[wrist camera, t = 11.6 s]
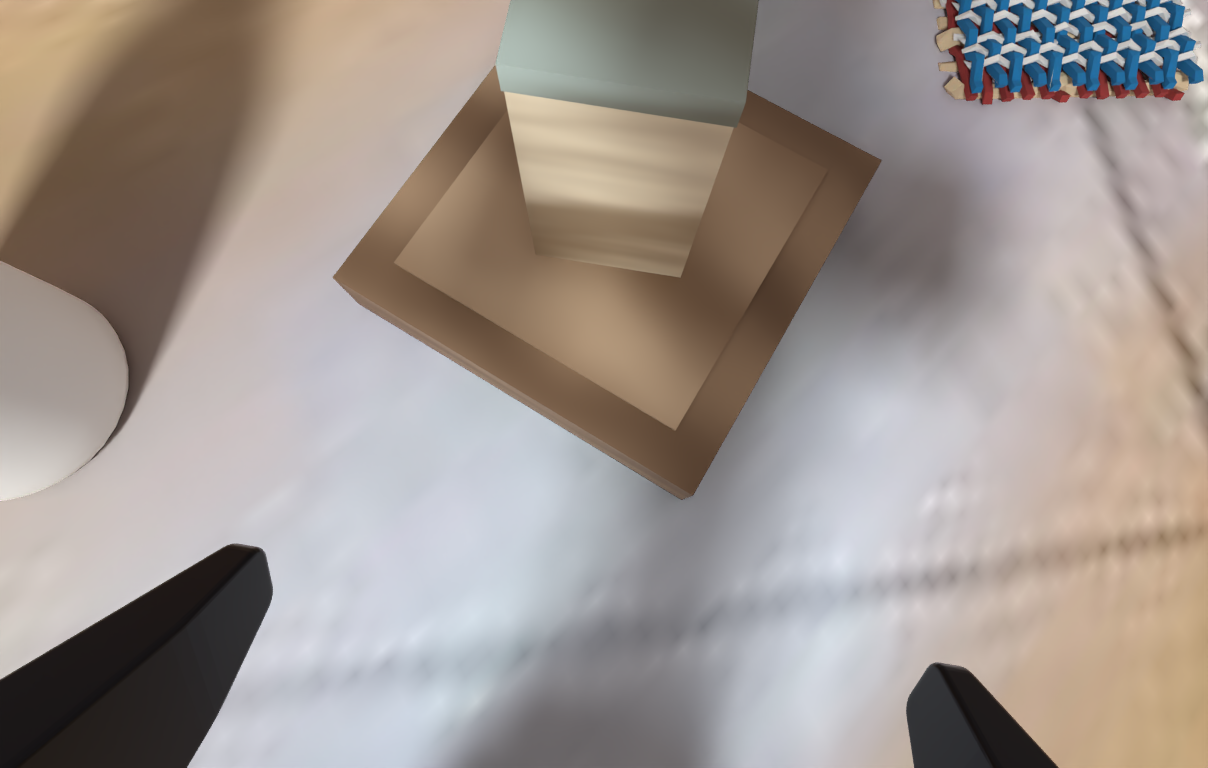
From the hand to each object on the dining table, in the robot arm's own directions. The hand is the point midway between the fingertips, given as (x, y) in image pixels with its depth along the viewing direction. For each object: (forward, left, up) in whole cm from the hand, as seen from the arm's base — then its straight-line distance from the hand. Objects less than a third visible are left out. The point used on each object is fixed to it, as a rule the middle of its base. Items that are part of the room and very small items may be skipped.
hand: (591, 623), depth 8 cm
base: (+11, +5, -14) cm, 18 cm away
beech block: (+11, +5, -11) cm, 16 cm away
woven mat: (+31, -5, -14) cm, 34 cm away
